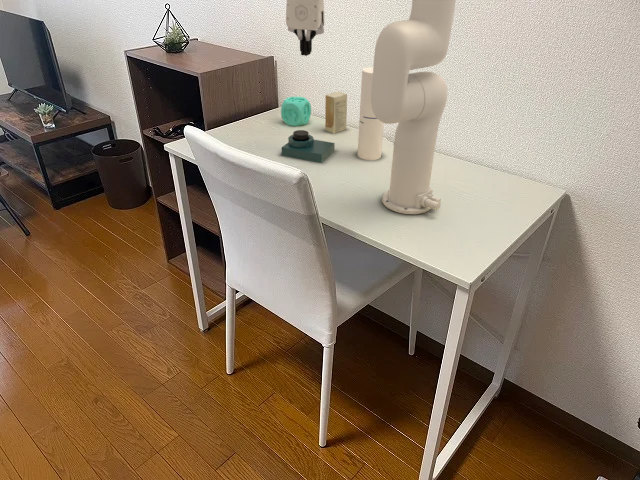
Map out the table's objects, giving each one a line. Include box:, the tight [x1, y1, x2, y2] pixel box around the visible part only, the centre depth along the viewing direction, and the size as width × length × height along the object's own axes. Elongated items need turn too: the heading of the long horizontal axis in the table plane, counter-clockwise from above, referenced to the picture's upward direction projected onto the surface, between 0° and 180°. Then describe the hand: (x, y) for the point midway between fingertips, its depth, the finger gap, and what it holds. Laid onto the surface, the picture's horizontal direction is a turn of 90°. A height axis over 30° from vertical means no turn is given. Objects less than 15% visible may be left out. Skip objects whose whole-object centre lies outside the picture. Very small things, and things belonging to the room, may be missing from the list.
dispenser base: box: [281, 134, 336, 164], centre depth 148 cm, size 13×10×4 cm
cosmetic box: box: [324, 91, 348, 134], centre depth 163 cm, size 6×4×12 cm
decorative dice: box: [280, 96, 312, 127], centre depth 170 cm, size 8×8×8 cm
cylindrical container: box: [357, 66, 385, 161], centre depth 141 cm, size 7×7×25 cm
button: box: [292, 129, 310, 141], centre depth 147 cm, size 5×5×2 cm
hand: (305, 54), depth 141 cm, fingers closed
